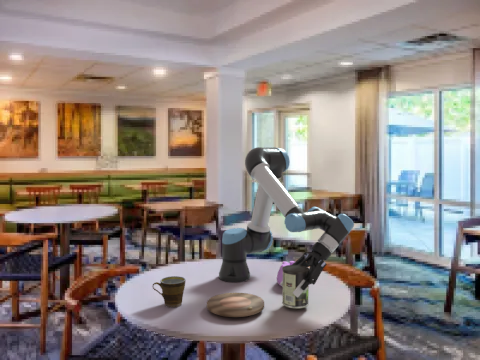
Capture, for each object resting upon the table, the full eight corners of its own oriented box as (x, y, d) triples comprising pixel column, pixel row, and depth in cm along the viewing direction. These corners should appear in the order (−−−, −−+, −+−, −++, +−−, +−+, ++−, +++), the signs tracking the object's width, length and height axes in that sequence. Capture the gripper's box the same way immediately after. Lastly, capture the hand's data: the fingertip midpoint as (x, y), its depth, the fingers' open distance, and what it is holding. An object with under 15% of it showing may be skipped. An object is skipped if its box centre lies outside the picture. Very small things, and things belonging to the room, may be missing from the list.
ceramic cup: (184, 299, 168) (184, 275, 168) (186, 308, 159) (186, 282, 158) (152, 301, 166) (152, 277, 165) (152, 310, 156) (152, 285, 155)
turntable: (196, 307, 159) (196, 298, 159) (241, 296, 172) (241, 287, 172) (228, 326, 141) (228, 316, 141) (276, 312, 154) (276, 302, 154)
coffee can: (309, 300, 163) (309, 265, 162) (308, 309, 153) (308, 272, 152) (283, 298, 165) (283, 263, 164) (280, 307, 155) (281, 271, 154)
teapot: (289, 294, 174) (289, 268, 174) (270, 281, 193) (270, 257, 192) (316, 291, 179) (317, 266, 178) (295, 278, 197) (296, 255, 197)
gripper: (346, 260, 153) (309, 306, 148) (315, 247, 174) (281, 287, 169) (334, 247, 150) (296, 294, 146) (304, 235, 171) (270, 276, 167)
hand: (288, 290), depth 158 cm, fingers closed on coffee can, 10 cm apart
